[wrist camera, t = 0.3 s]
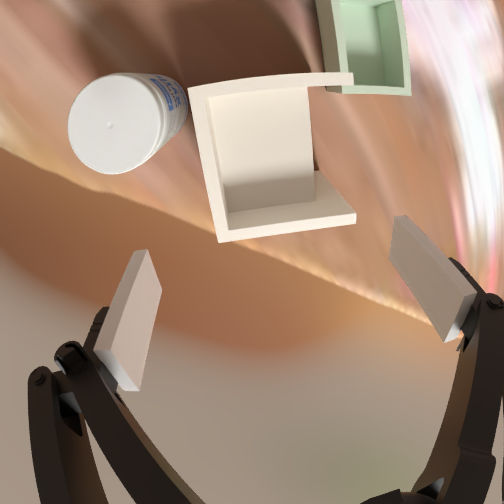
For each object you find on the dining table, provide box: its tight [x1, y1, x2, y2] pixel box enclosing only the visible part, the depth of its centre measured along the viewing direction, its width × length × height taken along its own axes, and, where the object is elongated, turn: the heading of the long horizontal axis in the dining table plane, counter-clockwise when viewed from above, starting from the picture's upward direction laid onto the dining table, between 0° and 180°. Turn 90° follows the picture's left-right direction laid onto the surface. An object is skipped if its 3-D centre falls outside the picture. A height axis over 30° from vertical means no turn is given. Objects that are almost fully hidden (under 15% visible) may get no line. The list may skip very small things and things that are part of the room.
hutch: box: [188, 72, 356, 243], centre depth 31 cm, size 15×14×14 cm
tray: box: [315, 0, 411, 96], centre depth 28 cm, size 10×14×6 cm
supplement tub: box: [68, 73, 188, 174], centre depth 28 cm, size 10×10×15 cm
